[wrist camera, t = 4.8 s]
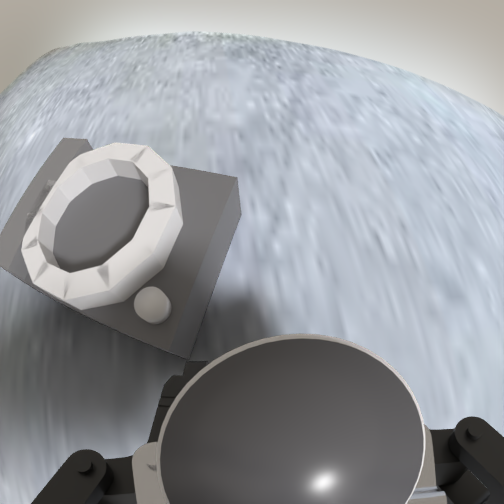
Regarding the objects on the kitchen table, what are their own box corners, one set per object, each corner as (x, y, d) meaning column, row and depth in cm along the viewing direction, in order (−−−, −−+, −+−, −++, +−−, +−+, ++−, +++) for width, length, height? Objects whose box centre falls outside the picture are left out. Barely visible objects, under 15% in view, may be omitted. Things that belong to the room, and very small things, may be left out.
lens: (210, 446, 12) (128, 527, 3) (239, 359, 14) (203, 300, 5) (305, 470, 11) (375, 574, 2) (332, 383, 13) (449, 359, 4)
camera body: (35, 289, 16) (-12, 258, 12) (92, 183, 20) (63, 137, 16) (188, 359, 15) (156, 345, 10) (241, 214, 18) (235, 157, 14)
